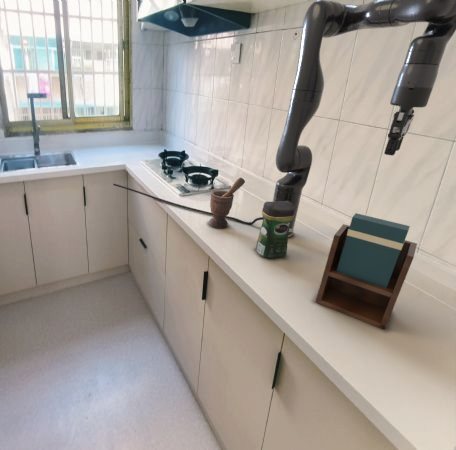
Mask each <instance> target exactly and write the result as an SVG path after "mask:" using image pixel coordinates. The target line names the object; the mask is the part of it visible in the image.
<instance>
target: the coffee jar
mask: <svg viewBox="0 0 456 450" xmlns="http://www.w3.org/2000/svg"><path fill="white" fill-rule="evenodd" d="M294 210H295V207H294V205H293V204H292V203H290V202H289V201H276V202H273V201H265V202H264V203H263V206H262V210H261V215H262V217H263V220H262V222H261V227H260V230H259V234H258V238H257V241H256V244H255V251H256V253H257V254H258V255H259V256H261V257H262V258H265V259H277V258H278V259H279V258H284V257H286V256H287V254H288V253H287V252H288V243H289V237H288V234H289V227H290V223H291V221H292V219H293V217H294Z"/></svg>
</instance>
